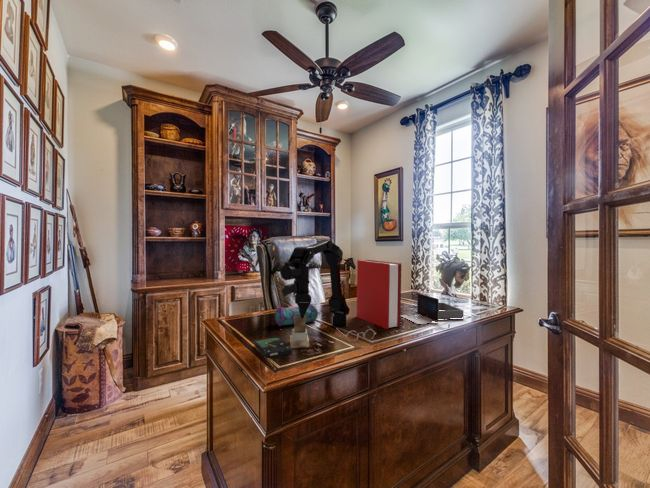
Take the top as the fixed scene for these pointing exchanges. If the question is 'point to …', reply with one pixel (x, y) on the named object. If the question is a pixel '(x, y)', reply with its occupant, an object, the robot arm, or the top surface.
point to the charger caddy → (449, 311)
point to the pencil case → (287, 315)
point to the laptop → (425, 310)
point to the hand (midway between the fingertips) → (301, 315)
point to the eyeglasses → (356, 332)
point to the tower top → (299, 336)
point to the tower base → (299, 343)
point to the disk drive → (273, 347)
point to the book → (379, 292)
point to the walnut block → (299, 324)
